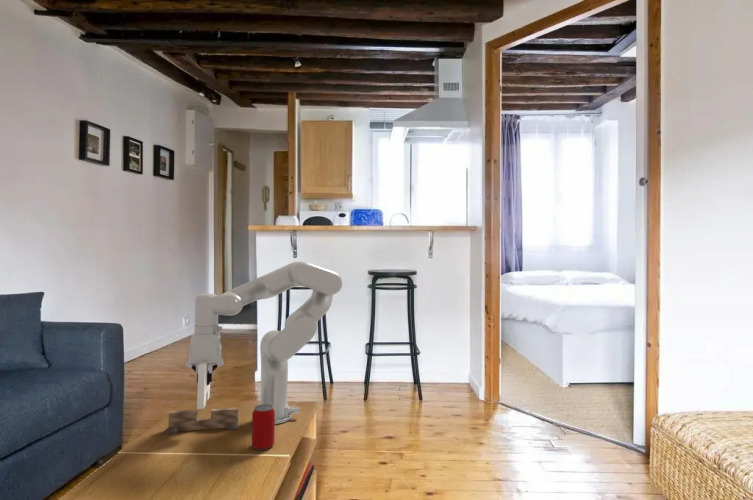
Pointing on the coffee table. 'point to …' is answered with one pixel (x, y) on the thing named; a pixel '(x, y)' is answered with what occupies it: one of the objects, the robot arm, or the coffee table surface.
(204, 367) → the pale notched plate
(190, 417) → the walnut slotted board
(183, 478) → the coffee table surface
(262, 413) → the beverage can
